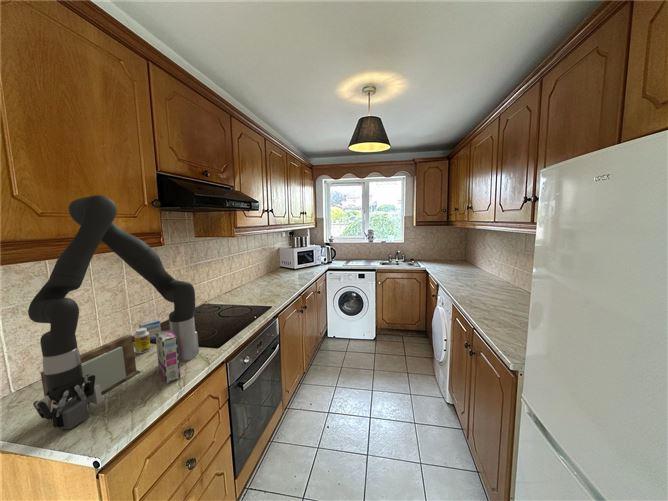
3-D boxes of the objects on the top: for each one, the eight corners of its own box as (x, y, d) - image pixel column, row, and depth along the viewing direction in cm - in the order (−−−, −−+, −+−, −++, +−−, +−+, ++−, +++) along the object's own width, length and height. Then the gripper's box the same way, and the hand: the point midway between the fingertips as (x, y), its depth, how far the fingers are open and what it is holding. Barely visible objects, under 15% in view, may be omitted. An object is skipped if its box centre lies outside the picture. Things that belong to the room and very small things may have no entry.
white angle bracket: (123, 377, 101) (119, 346, 99) (141, 380, 99) (137, 349, 97) (73, 406, 85) (67, 370, 84) (92, 410, 83) (87, 374, 82)
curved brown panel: (131, 370, 106) (127, 334, 105) (140, 372, 105) (136, 335, 103) (48, 418, 82) (40, 372, 80) (58, 421, 80) (51, 374, 79)
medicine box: (143, 342, 131) (141, 325, 130) (140, 340, 133) (138, 323, 132) (161, 337, 137) (160, 320, 136) (158, 334, 140) (156, 318, 139)
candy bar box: (181, 378, 101) (177, 336, 99) (166, 384, 97) (161, 341, 95) (173, 367, 109) (169, 328, 107) (158, 372, 105) (154, 332, 103)
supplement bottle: (142, 354, 119) (139, 332, 118) (132, 353, 121) (130, 331, 119) (153, 348, 124) (151, 327, 123) (144, 347, 126) (142, 326, 125)
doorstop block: (74, 413, 83) (72, 398, 82) (89, 416, 81) (86, 401, 80) (54, 425, 78) (51, 409, 77) (69, 429, 76) (66, 413, 76)
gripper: (82, 351, 85) (89, 401, 87) (19, 378, 71) (30, 436, 73) (99, 354, 83) (107, 405, 85) (39, 382, 69) (49, 442, 71)
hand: (71, 419), depth 79 cm, fingers closed on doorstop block, 5 cm apart
